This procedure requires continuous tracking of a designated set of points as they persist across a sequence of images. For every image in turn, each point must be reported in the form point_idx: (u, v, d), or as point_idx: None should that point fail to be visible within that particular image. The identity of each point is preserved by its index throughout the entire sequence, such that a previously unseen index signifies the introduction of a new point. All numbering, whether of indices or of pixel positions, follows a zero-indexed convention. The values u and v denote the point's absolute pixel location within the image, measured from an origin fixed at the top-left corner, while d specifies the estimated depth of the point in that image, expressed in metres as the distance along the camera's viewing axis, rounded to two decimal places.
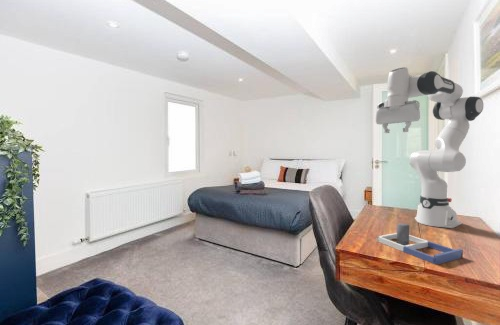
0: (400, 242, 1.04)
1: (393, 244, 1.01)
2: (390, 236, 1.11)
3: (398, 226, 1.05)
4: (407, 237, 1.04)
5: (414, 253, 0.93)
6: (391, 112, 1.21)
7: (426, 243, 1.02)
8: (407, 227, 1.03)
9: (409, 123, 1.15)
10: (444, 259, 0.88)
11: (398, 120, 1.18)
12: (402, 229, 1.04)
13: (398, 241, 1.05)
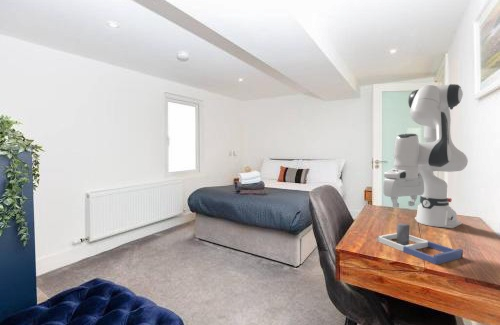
0: (400, 242, 1.04)
1: (393, 244, 1.01)
2: (390, 236, 1.11)
3: (398, 226, 1.05)
4: (407, 237, 1.04)
5: (414, 253, 0.93)
6: (405, 184, 1.02)
7: (426, 243, 1.02)
8: (407, 227, 1.03)
9: None
10: (444, 259, 0.88)
11: (412, 194, 1.04)
12: (402, 229, 1.04)
13: (398, 241, 1.05)
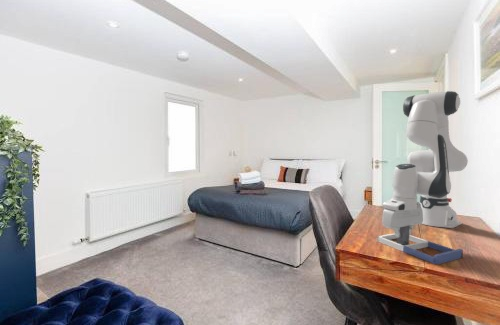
0: (400, 242, 1.04)
1: (393, 244, 1.01)
2: (390, 236, 1.11)
3: None
4: (407, 237, 1.04)
5: (414, 253, 0.93)
6: (404, 214, 1.03)
7: (426, 243, 1.02)
8: (407, 227, 1.03)
9: None
10: (444, 259, 0.88)
11: (411, 224, 1.05)
12: (402, 229, 1.04)
13: (398, 241, 1.05)
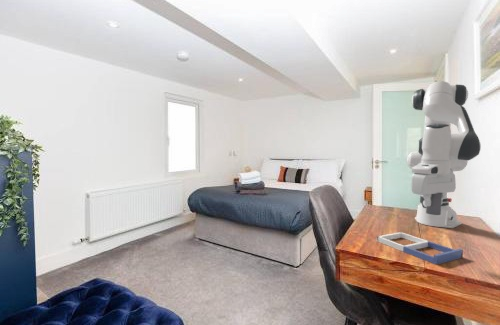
0: (431, 211, 0.93)
1: (393, 244, 1.01)
2: (390, 236, 1.11)
3: None
4: (439, 205, 0.92)
5: (414, 253, 0.93)
6: (436, 180, 0.92)
7: (426, 243, 1.02)
8: (439, 194, 0.92)
9: None
10: (444, 259, 0.88)
11: (443, 191, 0.93)
12: (434, 196, 0.92)
13: (429, 210, 0.94)
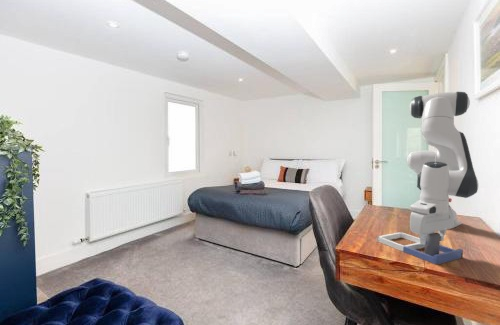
0: (429, 253, 0.94)
1: (393, 244, 1.01)
2: (390, 236, 1.11)
3: (427, 235, 0.95)
4: (437, 247, 0.93)
5: (414, 253, 0.93)
6: (434, 218, 0.93)
7: None
8: (438, 236, 0.93)
9: None
10: (444, 259, 0.88)
11: (441, 228, 0.94)
12: (432, 238, 0.93)
13: (427, 251, 0.95)
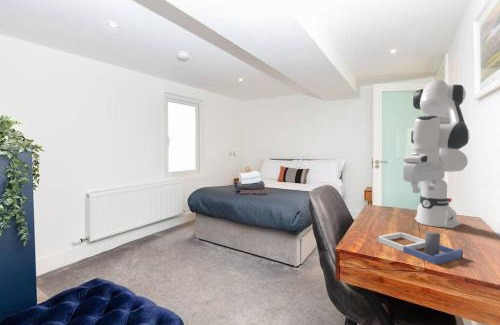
0: (429, 253, 0.94)
1: (393, 244, 1.01)
2: (390, 236, 1.11)
3: (427, 235, 0.95)
4: (437, 247, 0.93)
5: (414, 253, 0.93)
6: (426, 168, 0.99)
7: None
8: (438, 236, 0.93)
9: None
10: (444, 259, 0.88)
11: (432, 178, 1.00)
12: (432, 238, 0.93)
13: (427, 251, 0.95)
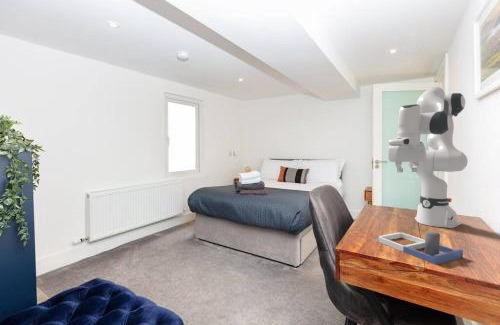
0: (429, 253, 0.94)
1: (393, 244, 1.01)
2: (390, 236, 1.11)
3: (427, 235, 0.95)
4: (437, 247, 0.93)
5: (414, 253, 0.93)
6: (408, 150, 1.11)
7: None
8: (438, 236, 0.93)
9: None
10: (444, 259, 0.88)
11: (415, 160, 1.13)
12: (432, 238, 0.93)
13: (427, 251, 0.95)
